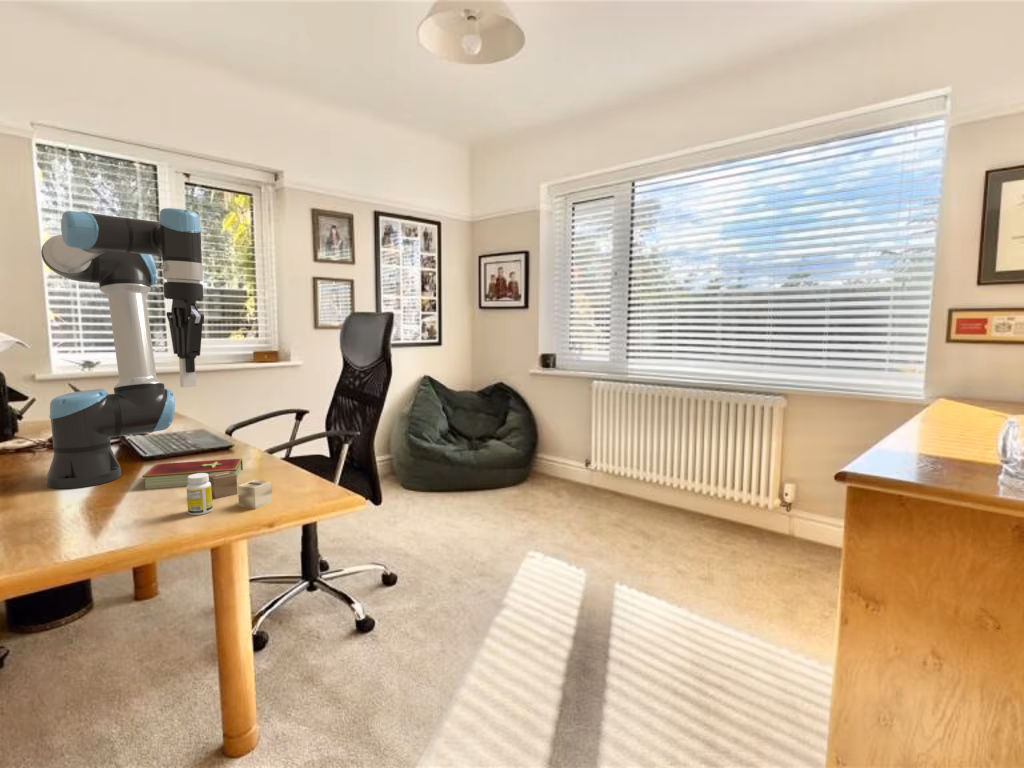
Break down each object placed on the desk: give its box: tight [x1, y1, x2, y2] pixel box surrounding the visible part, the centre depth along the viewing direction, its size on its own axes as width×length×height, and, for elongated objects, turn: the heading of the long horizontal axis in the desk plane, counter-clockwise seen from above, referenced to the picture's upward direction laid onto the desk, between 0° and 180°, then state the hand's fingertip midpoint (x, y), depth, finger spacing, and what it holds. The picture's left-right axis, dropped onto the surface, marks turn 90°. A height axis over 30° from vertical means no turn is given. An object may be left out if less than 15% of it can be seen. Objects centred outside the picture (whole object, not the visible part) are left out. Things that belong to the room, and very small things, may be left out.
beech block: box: [237, 479, 273, 510], centre depth 123 cm, size 5×5×5 cm
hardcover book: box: [141, 457, 244, 490], centre depth 141 cm, size 12×21×4 cm, turn 110°
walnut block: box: [208, 471, 238, 500], centre depth 129 cm, size 5×5×5 cm
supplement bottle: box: [186, 473, 213, 516], centre depth 117 cm, size 5×5×8 cm
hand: (188, 386), depth 120 cm, fingers closed
